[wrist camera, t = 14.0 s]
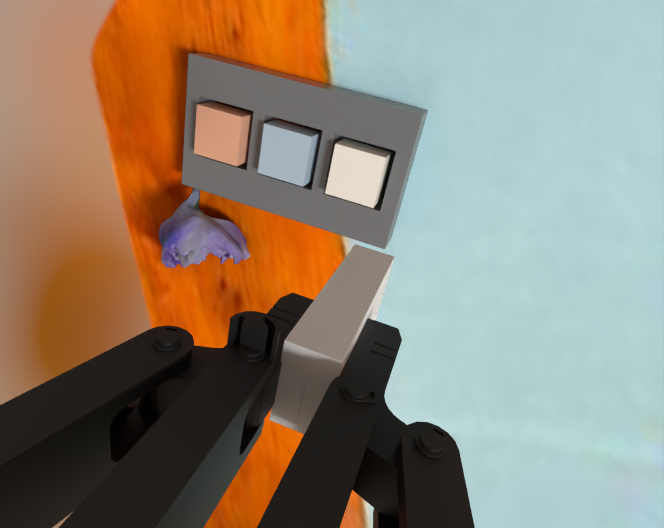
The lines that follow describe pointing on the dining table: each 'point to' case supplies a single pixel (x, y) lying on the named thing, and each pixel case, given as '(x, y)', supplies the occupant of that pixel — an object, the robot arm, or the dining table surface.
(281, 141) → the blue key
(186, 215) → the flower
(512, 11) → the dining table surface
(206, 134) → the terracotta key
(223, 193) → the console
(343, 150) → the ivory key
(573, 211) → the dining table surface
